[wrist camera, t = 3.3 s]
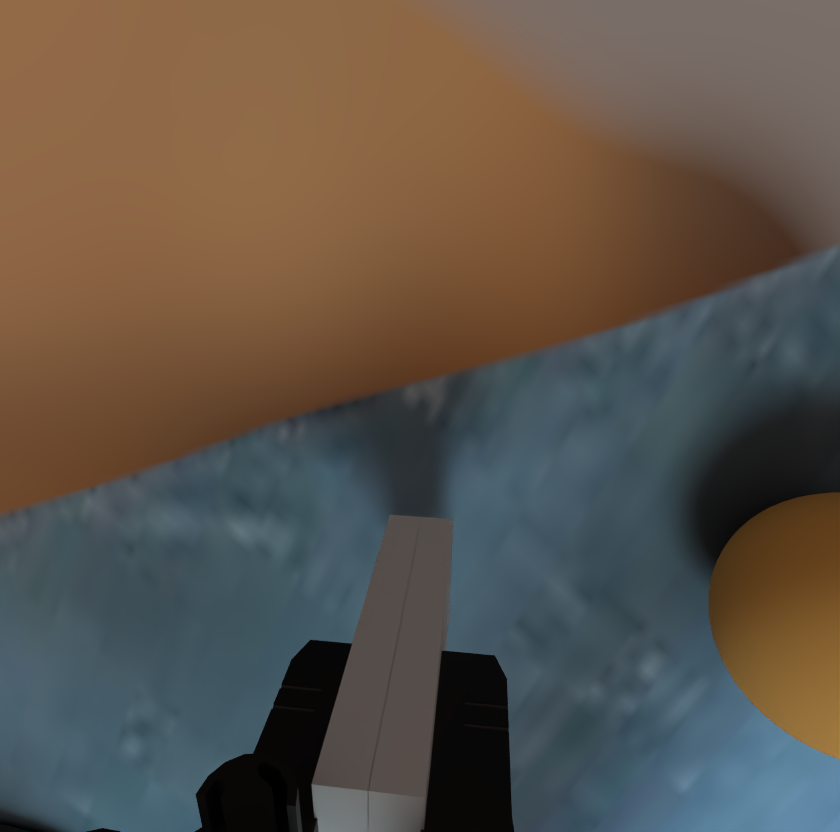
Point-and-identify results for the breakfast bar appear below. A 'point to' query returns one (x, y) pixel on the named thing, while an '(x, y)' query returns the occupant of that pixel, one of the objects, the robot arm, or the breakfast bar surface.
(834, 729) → the ball
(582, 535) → the breakfast bar surface
